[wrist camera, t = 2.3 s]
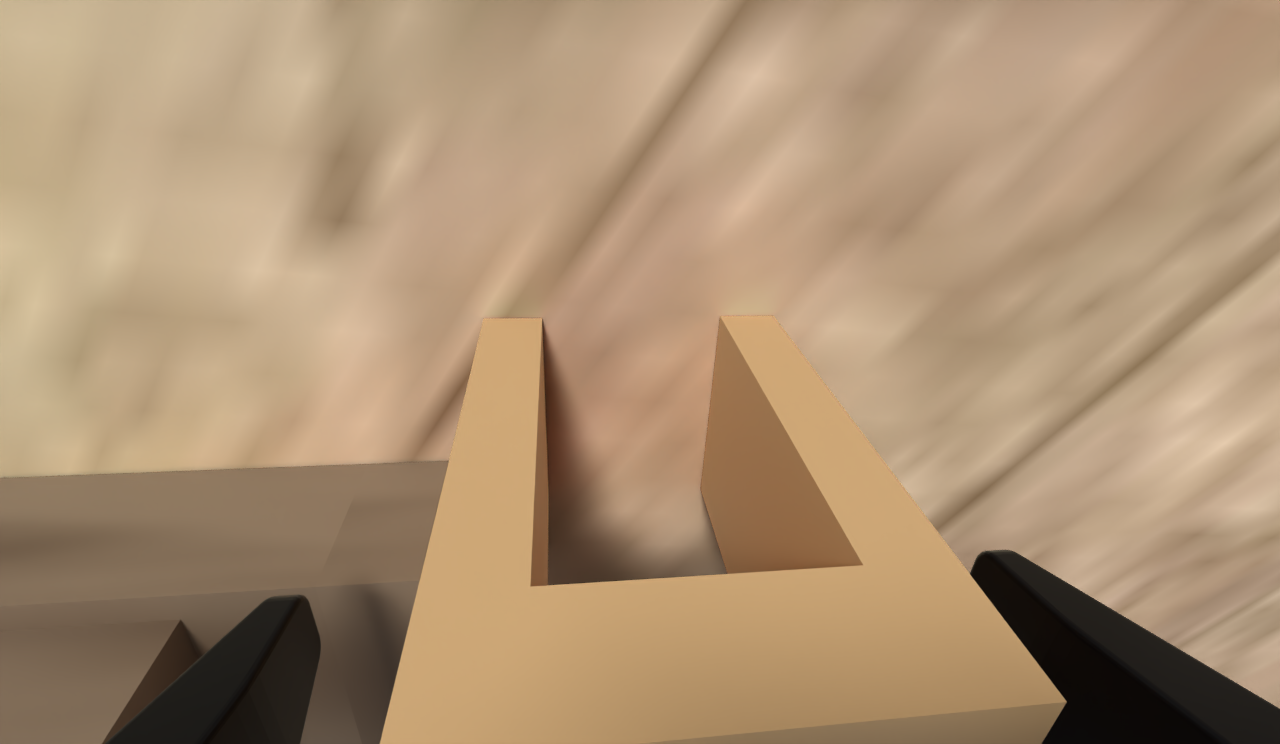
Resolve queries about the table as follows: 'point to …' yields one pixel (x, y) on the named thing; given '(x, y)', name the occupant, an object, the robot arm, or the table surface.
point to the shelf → (203, 586)
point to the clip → (705, 588)
